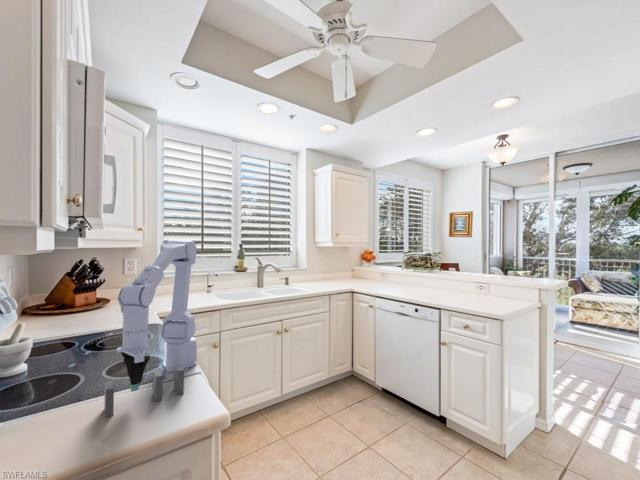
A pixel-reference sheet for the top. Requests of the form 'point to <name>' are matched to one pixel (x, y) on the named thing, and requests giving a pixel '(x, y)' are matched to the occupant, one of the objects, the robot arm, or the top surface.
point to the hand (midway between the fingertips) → (134, 379)
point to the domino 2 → (133, 386)
